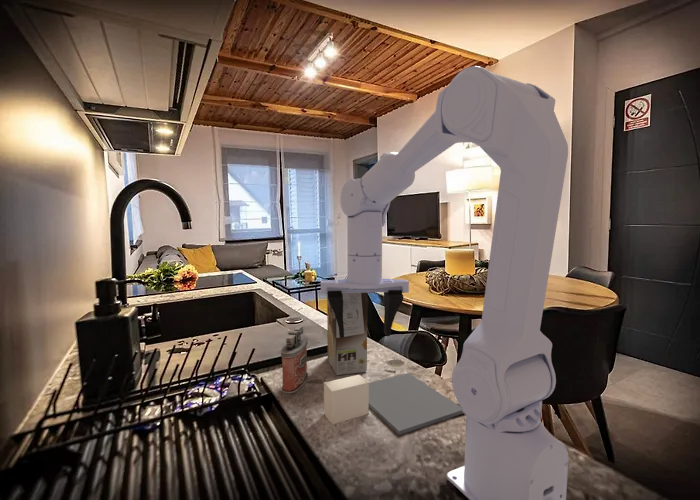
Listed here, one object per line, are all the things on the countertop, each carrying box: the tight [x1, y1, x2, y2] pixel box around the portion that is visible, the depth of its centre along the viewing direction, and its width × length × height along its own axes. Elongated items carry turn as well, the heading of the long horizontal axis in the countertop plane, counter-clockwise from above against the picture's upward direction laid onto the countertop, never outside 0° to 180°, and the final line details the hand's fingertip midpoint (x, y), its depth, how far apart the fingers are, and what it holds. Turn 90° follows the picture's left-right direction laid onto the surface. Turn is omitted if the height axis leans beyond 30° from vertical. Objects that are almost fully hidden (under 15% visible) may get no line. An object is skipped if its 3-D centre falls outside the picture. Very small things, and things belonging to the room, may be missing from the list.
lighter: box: [280, 325, 309, 398], centre depth 62 cm, size 8×3×10 cm, turn 168°
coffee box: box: [326, 292, 368, 376], centre depth 71 cm, size 9×6×16 cm
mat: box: [369, 372, 465, 436], centre depth 57 cm, size 14×12×1 cm
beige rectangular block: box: [323, 374, 370, 425], centre depth 53 cm, size 3×6×5 cm, turn 117°
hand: (364, 334), depth 60 cm, fingers open, 7 cm apart
